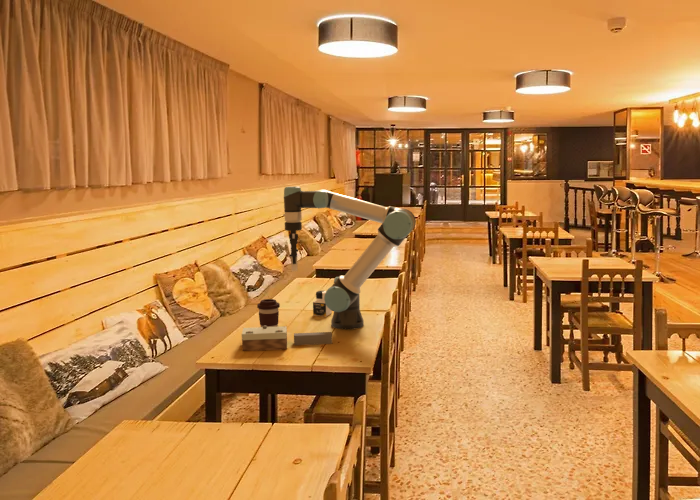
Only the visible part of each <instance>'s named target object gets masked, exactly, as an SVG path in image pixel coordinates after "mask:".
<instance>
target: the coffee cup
mask: <svg viewBox="0 0 700 500" xmlns="http://www.w3.org/2000/svg"><path fill="white" fill-rule="evenodd" d="M256 305H257V307H256V308H257V309H258V319H259V320H258V321H259V325H260V327H263V326H264V325H266V326H267V327H279V318H280V317H279V315H280V311H279V308H280V306H281V304H280V303H279V302H278V301H277V300H276V299H275V298H274V299H273V298H267V299H266V298H265V299H262V300H260V302H259V303H257V304H256Z"/></svg>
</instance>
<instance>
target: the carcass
mask: <svg viewBox="0 0 700 500" xmlns="http://www.w3.org/2000/svg"><path fill="white" fill-rule="evenodd" d="M278 332H280V330H278ZM248 334H251V331H248ZM241 341H242V342H241V343H242V346H241V347H242V352H251V351H253V352H254V351H274V350H275V351H276V350H280V351H281V350H288V337H287V338H286V339H261V340H242V339H241Z"/></svg>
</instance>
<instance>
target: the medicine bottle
mask: <svg viewBox="0 0 700 500" xmlns="http://www.w3.org/2000/svg"><path fill="white" fill-rule="evenodd" d="M326 291H327V290H318V291H316V292H315V300H314V301H313V302H312V315H313V316H314V317H315V316H316V317H325V318H326V317H328V316H330V315H332V312H333V311H332V310H330V309H329V308H328V307H327V306H326V304H325V300H324V296H325V293H326Z"/></svg>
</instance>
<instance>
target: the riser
mask: <svg viewBox="0 0 700 500" xmlns="http://www.w3.org/2000/svg"><path fill="white" fill-rule="evenodd" d="M331 344H333V332H332V331H322V332H319V331H318V332H295V333H293V346H305V345H306V346H307V345H331Z"/></svg>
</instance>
